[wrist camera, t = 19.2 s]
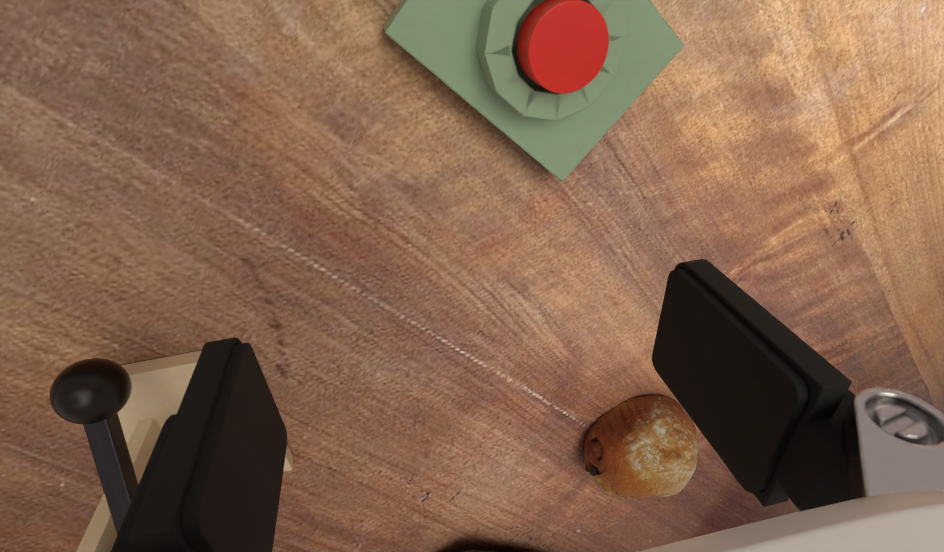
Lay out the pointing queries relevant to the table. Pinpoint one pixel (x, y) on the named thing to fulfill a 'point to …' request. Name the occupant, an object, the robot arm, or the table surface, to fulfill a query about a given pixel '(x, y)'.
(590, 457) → the bread roll
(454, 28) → the button block
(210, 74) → the table surface
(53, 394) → the black ball knob lever
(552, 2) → the button
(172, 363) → the lever bracket
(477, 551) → the plate
